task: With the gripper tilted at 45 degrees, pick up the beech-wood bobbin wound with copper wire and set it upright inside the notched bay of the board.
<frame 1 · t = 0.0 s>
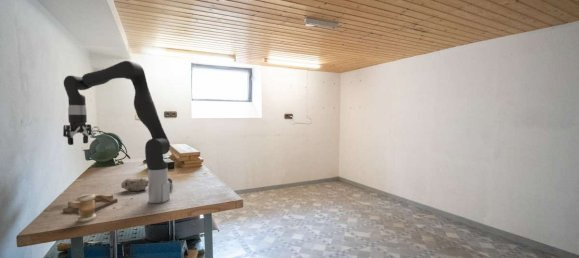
hand: (78, 144, 137), 29 cm above the workbench, fingers open, 8 cm apart
flashlight: (167, 189, 157), on the workbench
bobbin: (87, 219, 110), on the workbench
notched board: (91, 206, 125), on the workbench
pumice stone: (135, 190, 153), on the workbench
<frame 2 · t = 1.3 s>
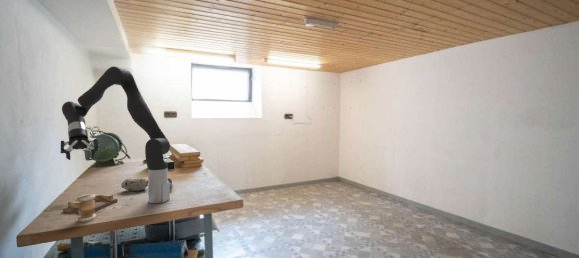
hand: (81, 157, 121), 25 cm above the workbench, fingers open, 8 cm apart
nothing on the workbench moved.
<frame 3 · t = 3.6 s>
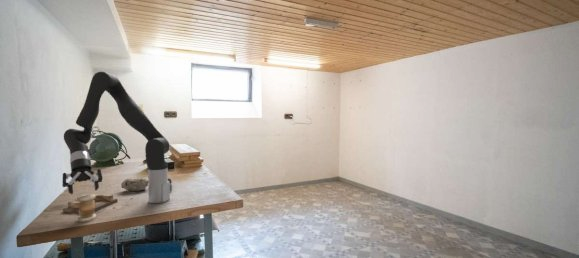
hand: (84, 191, 114), 11 cm above the workbench, fingers open, 8 cm apart
nothing on the workbench moved.
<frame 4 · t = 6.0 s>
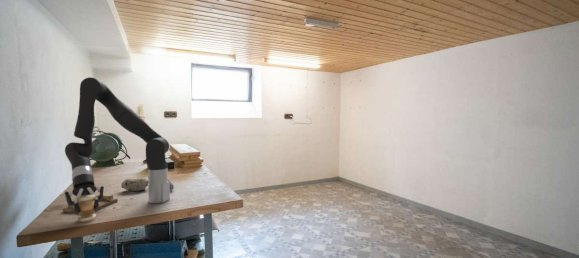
hand: (87, 210, 109), 4 cm above the workbench, fingers closed on bobbin, 5 cm apart
bobbin: (87, 219, 110), on the workbench, touching gripper
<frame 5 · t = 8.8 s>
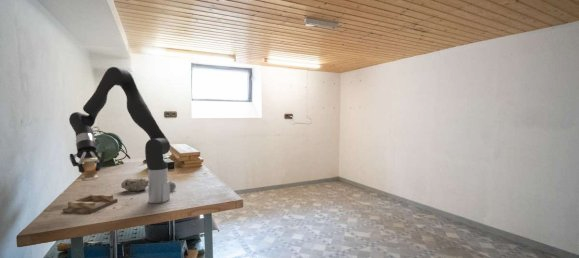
hand: (90, 171, 121), 18 cm above the workbench, fingers closed on bobbin, 5 cm apart
bobbin: (89, 179, 123), point 14 cm above the workbench, touching gripper
when the fingers open (7 cm above the workbench, at t = 11.7 s): bobbin stays where it is, resting on notched board.
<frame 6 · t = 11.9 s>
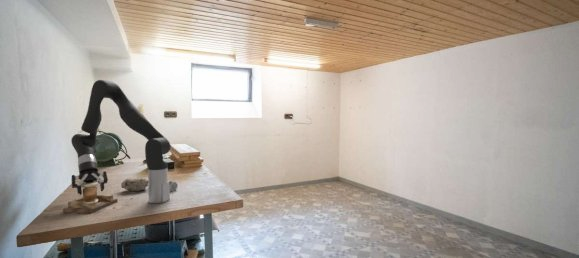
hand: (91, 191, 124), 8 cm above the workbench, fingers open, 8 cm apart
bobbin: (90, 203, 125), point 2 cm above the workbench, touching notched board
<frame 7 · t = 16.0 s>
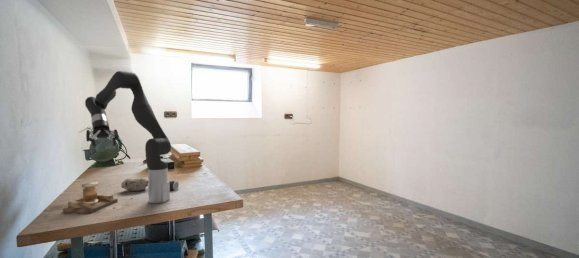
hand: (104, 145, 137), 29 cm above the workbench, fingers open, 8 cm apart
at the end: bobbin 0.7 cm off-centre on the notched board, point 1.5 cm above the notched board's base; bobbin tilted 0°; the gripper is holding nothing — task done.
